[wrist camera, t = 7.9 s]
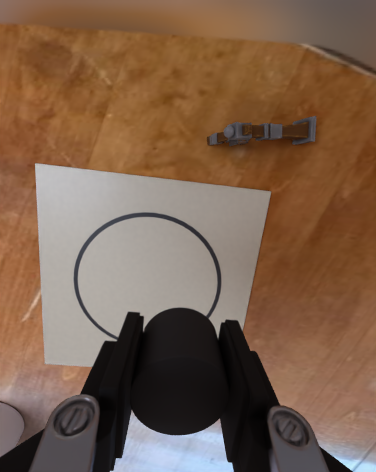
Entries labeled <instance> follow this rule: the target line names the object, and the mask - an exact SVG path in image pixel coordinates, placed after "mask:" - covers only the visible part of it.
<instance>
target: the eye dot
mask: <svg viewBox="0 0 376 472" xmlns="http://www.w3.org/2000/svg"><path fill="white" fill-rule="evenodd" d="M229 392H230V388H229V383H228V379H227V375H226V371H225V367H224V363H223V358H222V354H221V350H220V346H219V342H218V338H217V333H216V330H215V327H214V326H213V324H212V322H211V321H210V320H209V319H208V318H207V317H206V316H205V315H203V314H202V313H200V312H198V311H196V310H194V309H190V308H183V307H178V308H171V309H167V310H164V311H162V312H160V313H158V314H157V315H155V316H154V317H153V318H152V319H151V320H150V321H149V322H148V323H147V325H146V326H145V328H144V331H143V335H142V340H141V344H140V349H139V353H138V357H137V362H136V366H135V371H134V375H133V379H132V384H131V396H130V405H131V408H132V411H133V412H134V414H135V416H136V417H137V418H138V420H139V421H140V422H141V423H143V424H144V425H145V426H147V427H148V428H150V429H152V430H154V431H156V432H160V433H163V434H168V435H188V434H193V433H196V432H199V431H202V430H204V429H206V428H208V427H210V426H211V425H212V424H214V423H215V422H216V421H217V420H218V419H219V418H220V417H221V416H222V415H223V413H224V412H225V410H226V408H227V403H228V398H229Z"/></svg>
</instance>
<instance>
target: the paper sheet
mask: <svg viewBox="0 0 376 472" xmlns="http://www.w3.org/2000/svg"><path fill="white" fill-rule="evenodd" d="M35 171H36V191H37V212H38V233H39V253H40V274H41V294H42V315H43V336H44V356H45V364H53V365H70V366H87V367H93V365H94V362H95V360H96V358H97V356H98V354H99V351H100V349H101V347H102V345H103V343H104V341H105V340H106V341H117V339H118V336H119V334H120V331H121V329H122V326H123V323H124V321H125V318H126V315H127V313H128V311H129V312H140V316H144V325H143V331H144V328H145V326H146V325H147V323H148V322H149V321H150V320H151V319H152V318H153V317H154V316H155V315H157V314H158V313H160V312H162V311H164V310H167V309H171V308H178V307H183V308H190V309H194V310H196V311H198V312H200V313H202V314H203V315H205V316H206V317H207V318H208V319H209V320H210V321H211V322H212V324H213V326H214V327H215V330H216V333H217V338H218V337H219V331H220V325H221V322H225V320H226V319H228V320H238V322H239V324H240V327H241V329H242V331H243V327H244V322H245V317H246V312H247V307H248V302H249V297H250V293H251V288H252V283H253V278H254V273H255V268H256V263H257V259H258V254H259V249H260V244H261V239H262V234H263V229H264V224H265V220H266V215H267V210H268V205H269V200H270V195H271V191H263V190H255V189H247V188H238V187H230V186H222V185H213V184H205V183H197V182H188V181H180V180H171V179H163V178H155V177H146V176H138V175H130V174H121V173H113V172H105V171H96V170H88V169H79V168H71V167H63V166H54V165H46V164H38V163H35Z"/></svg>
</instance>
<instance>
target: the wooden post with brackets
mask: <svg viewBox="0 0 376 472" xmlns="http://www.w3.org/2000/svg"><path fill="white" fill-rule="evenodd" d="M315 129H316V116H314V117H309V118H305V119H302V120H298V121H295V122H293V125H289V126H282V124H272V123H270V124H268V123H267V124H266V123H264V124H261V125H258V126H257V125H252V123H238V122H235V123H233V124H230V125H228V126H227V127H226V128H225V129H224V132H221V133H215V134H212V135H211V136H209V137H207V144H208V145H214V144H221V143H224V141H226V143H227V142H229V146H232V145H236V144H240V145H241V144H245V143H248V141H249V140H250V138H256V140H258V141H259V140H275V139H279V138H285V139H292V140H293V144H295V145H297V144H302V143H307V142H313V141H315Z"/></svg>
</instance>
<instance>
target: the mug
mask: <svg viewBox="0 0 376 472" xmlns="http://www.w3.org/2000/svg"><path fill="white" fill-rule="evenodd" d="M23 430H24V421H23V418H22V416H21V415H20V413H19V412H18V411H17V410H15V409H14V408H13V407H11V406H9V405H7V404H4V403H0V457H1V456H2V455H4V454H6V453H7V452H9V451H10V450H12V449H13V448H14V447H15V446H16V444H17V442H18V440H19V438H20V437H21V435H22V433H23Z"/></svg>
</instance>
